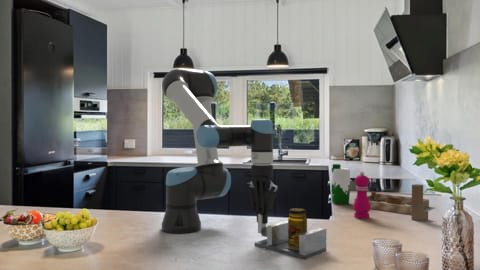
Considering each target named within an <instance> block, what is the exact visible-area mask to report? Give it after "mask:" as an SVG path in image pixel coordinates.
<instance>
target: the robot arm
mask: <svg viewBox="0 0 480 270" xmlns="http://www.w3.org/2000/svg"><path fill="white" fill-rule="evenodd" d="M162 79H163V80H162V83H161V88H162V92H163V94H164V96H165V97H166V99H168V101H169V102H173V103H174V104H175V106H176V107H177V108H178V109H179V110H180V111H181V113H182V115H184V117H185V118H186V119H187V120H188V121H189V123H190V124H191V125H192V129H193V131H192V132H193V136H194V144H195V152H196V158H197V160H196V161H197V163H196V164H195V166H185V167H178V168H173V169H171V170H169V171H168V172H167V173H166V177H165V199H166V200H165V201H166V202H165V208H166V209H165V213H164V215H163V219H162V222H161V230H162V231H163V232H165V233H170V234H189V233H194V232H197V231H200V230H201V229H202V222H201V221H202V220H201V219H200V215H199V212H198V209H197V201H198V200H206V199H207V200H208V199H216V198H221V197H224V196H225V195H227V194H228V192H229V190H231V189H230V188H231V184H232V177H231V173H230V171H229V169H227V168H225V167H224V164H223V162H222V161H221V160H220V158H219V155H218V153H219V152H218V148H224V147H225V148H226V147H227V148H228V147H250V148H251V149H250V157H251V158H250V159H251V161H250V163H251V164H252V165H250V170H251V171H250V174H251V176H252V177H251V181H250V182H247V183H246V188H247V190H248V191H247V192H248V194H249V201H250V206H251V211H252V212H255V213H256V223H257V233H258V234H261V230H262V228H263V227H267V224H268V222H269V221H268V220H269V217H268V216H269V214H271V213H273V211H274V207H275V201H276V196H277V193H278V190H279V188H280V186H279V185H276V184H274V181H273V175H274V166H273V164H274V126H273V124H274V123H273V120H271V119H252V120H251V122H250V124H249V125H247V124H246V125H242V124H238V125H237V124H236V125H232V124H231V125H225V124H224V125H223V124H220V123H218V122H219V121H217V120H216V119H215V118H214V116H213V112H212V106H211V104H212V103H213V101H214V98H215V96H216V95H217V93H218V92H217V91H218V83H217V78H216V77H215V75H214V74H213V73H211V72H210V71H206V70H202V69H188V68H174V69H172V70H170V71H168V72H167V73H166V74H165V76H164V78H162Z"/></svg>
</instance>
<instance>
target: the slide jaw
mask: <svg viewBox="0 0 480 270" xmlns="http://www.w3.org/2000/svg"><path fill="white" fill-rule="evenodd" d="M261 236H262V237H265V238H266V239H267V244H268V245H275V244H278V243H281V242H284V241H287V240H288V219H287V220H284V221H280V222H277V223H273V224H269V225H266V227H263V228H262V230H261Z"/></svg>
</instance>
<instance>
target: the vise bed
mask: <svg viewBox="0 0 480 270" xmlns="http://www.w3.org/2000/svg"><path fill="white" fill-rule="evenodd" d="M287 245H288V240H287V241H284V242H281V243H278V244H275V245H268V244H267V238H265V239H261V240H259V241H255V242H254V247H257V248H260V249H264V250H267V251H271V252H275V253H279V254H283V255H287V256H290V257H294V258H298V259H300V260H307V259H310V258H312V257H315V256H316V255H319V254H322V253H324V252H326V251H327V228H326V227H318V228H315V229H312V230H309V231H308V230H307V232H305V233H302V234H299V250H298V249H290V248H284V247H286V246H287Z"/></svg>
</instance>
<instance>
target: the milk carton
mask: <svg viewBox="0 0 480 270" xmlns="http://www.w3.org/2000/svg"><path fill="white" fill-rule="evenodd" d="M330 182H331V183H330V184H331V189H330V190H331V191H330V192H331V202H332V203H333V204H334V205H350V197H351V195H350V193H351V169H350V168H348V167H341V164H339V163H333V164H332V167H331V180H330Z"/></svg>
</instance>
